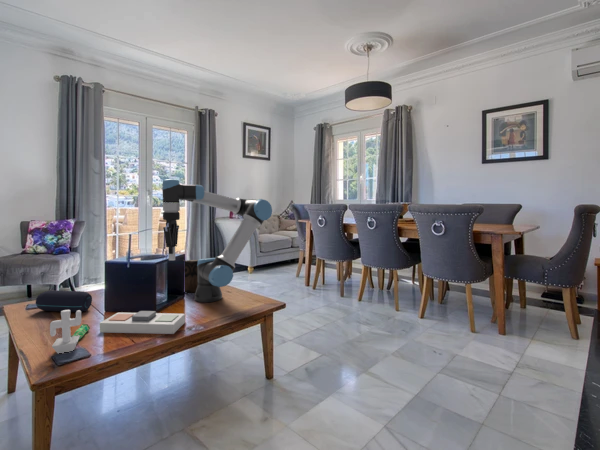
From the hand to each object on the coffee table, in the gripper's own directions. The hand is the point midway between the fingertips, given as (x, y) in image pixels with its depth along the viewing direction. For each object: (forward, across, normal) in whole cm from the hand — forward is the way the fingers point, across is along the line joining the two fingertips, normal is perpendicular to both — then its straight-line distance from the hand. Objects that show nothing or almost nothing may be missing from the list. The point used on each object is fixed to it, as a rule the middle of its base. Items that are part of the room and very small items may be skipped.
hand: (172, 260), depth 157 cm
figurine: (+27, +41, -22) cm, 54 cm away
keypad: (+26, +18, -5) cm, 32 cm away
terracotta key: (+25, +18, -15) cm, 34 cm away
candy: (+27, +30, -26) cm, 47 cm away
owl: (+27, -40, -3) cm, 48 cm away
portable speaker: (+27, -1, -54) cm, 60 cm away
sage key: (+25, +18, +5) cm, 31 cm away
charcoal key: (+23, +18, -5) cm, 30 cm away
